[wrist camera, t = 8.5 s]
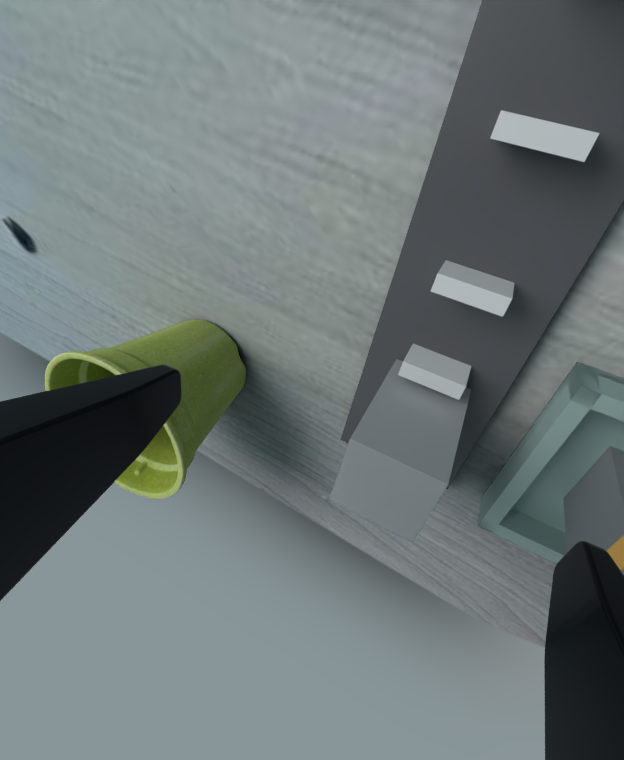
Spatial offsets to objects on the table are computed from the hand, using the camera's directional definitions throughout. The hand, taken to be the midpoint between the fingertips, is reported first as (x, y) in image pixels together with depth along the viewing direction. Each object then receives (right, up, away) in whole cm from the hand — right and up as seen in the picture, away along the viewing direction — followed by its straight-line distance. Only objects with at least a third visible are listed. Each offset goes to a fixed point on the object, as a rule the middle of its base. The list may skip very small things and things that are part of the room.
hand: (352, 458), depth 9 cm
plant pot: (-8, +3, +20) cm, 22 cm away
